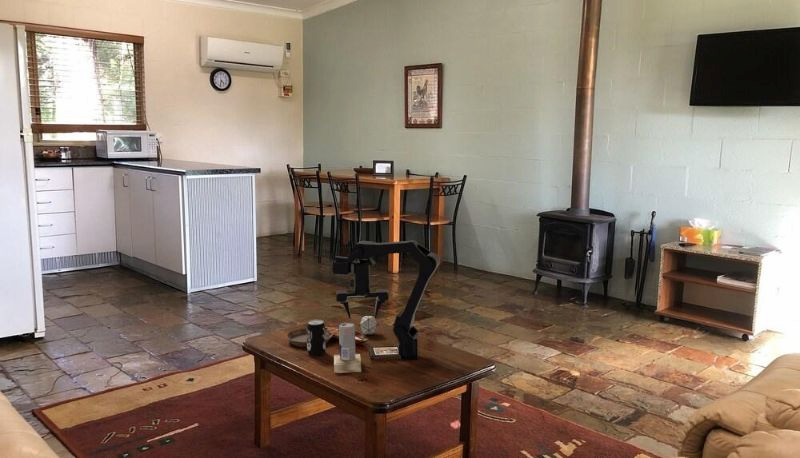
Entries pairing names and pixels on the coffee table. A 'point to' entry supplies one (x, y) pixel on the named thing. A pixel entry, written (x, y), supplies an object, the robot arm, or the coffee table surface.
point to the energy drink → (347, 341)
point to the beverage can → (316, 337)
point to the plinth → (347, 364)
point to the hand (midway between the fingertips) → (362, 318)
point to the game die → (368, 324)
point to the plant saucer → (303, 337)
